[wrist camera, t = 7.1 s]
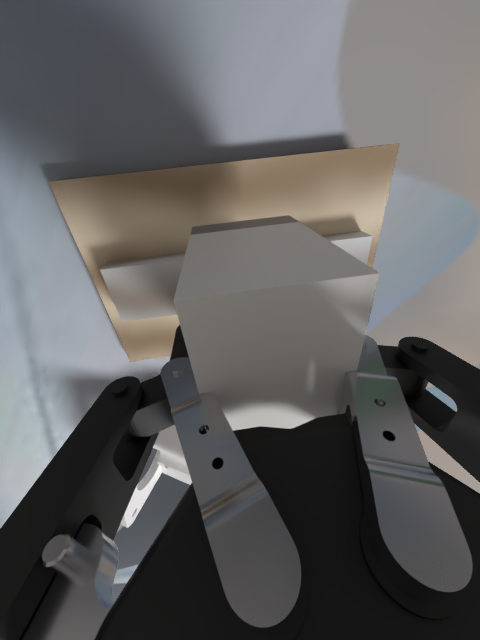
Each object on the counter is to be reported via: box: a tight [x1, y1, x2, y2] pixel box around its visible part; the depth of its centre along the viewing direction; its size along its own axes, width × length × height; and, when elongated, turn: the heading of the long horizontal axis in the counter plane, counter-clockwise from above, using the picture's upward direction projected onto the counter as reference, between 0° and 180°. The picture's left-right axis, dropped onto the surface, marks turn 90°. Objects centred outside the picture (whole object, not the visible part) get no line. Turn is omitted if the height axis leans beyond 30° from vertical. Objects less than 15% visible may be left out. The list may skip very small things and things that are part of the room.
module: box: [173, 215, 380, 431], centre depth 12 cm, size 9×5×8 cm, turn 5°
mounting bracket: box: [120, 425, 192, 528], centre depth 25 cm, size 12×6×11 cm, turn 173°
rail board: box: [49, 144, 399, 361], centre depth 18 cm, size 14×21×2 cm, turn 95°
